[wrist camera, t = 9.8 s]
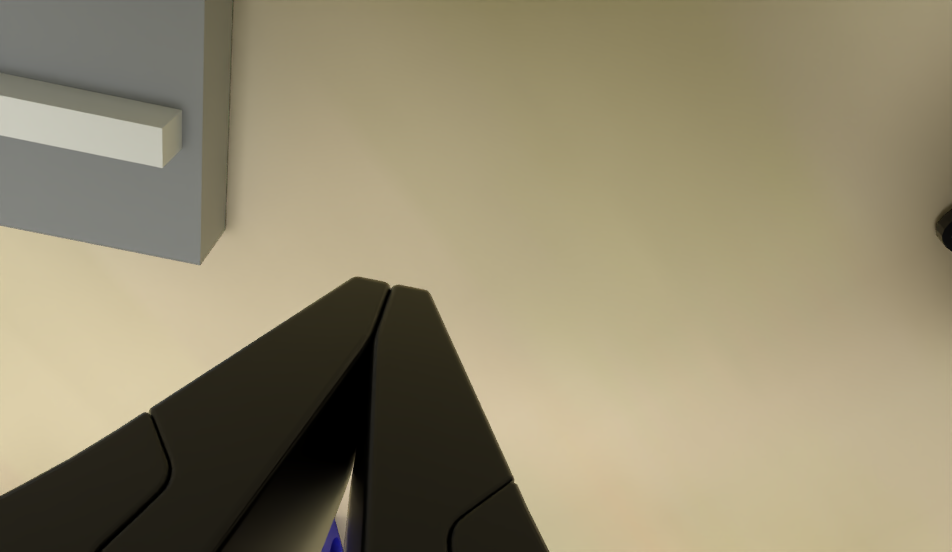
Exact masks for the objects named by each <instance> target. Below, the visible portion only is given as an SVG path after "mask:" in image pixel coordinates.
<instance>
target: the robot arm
mask: <svg viewBox="0 0 952 552" xmlns="http://www.w3.org/2000/svg"><path fill="white" fill-rule="evenodd" d="M936 234H937V236H938V238H939V239H940V240H941V241H942V243H943V244H944V245H945V246H946V247H947V248H948V249H949V250H950V251H952V209H951V210H950V211H949V212H948V213H947V214H945V215H944V216H943V217H942V218H941V220H940V221H939V222H938V224H937V227H936ZM353 464H354V467H353ZM352 468H353V473H352V480H351V487H350V495H349V504H348V513H347V523H346V532H345V542H344V551H343V552H549V550H548V548H547V546H546V544H545V542H544V540H543V538H542V536H541V534H540V532H539V530H538V528H537V526H536V524H535V522H534V520H533V518H532V516H531V514H530V512H529V510H528V508H527V506H526V503H525V501H524V499H523V497H522V494H521V492H520V490H519V488H518V486H517V484H515V483H514V477H513V475H512V473H511V471H510V469H509V466H508V464H507V462H506V460H505V458H504V455H503V453H502V451H501V449H500V447H499V444H498V442H497V440H496V438H495V435H494V433H493V431H492V429H491V427H490V424H489V422H488V420H487V418H486V416H485V413H484V411H483V409H482V407H481V405H480V402H479V400H478V398H477V396H476V394H475V391H474V389H473V387H472V385H471V383H470V380H469V378H468V376H467V374H466V372H465V369H464V367H463V365H462V363H461V360H460V358H459V356H458V354H457V352H456V349H455V347H454V345H453V343H452V341H451V338H450V336H449V334H448V332H447V330H446V327H445V325H444V323H443V321H442V319H441V316H440V314H439V312H438V310H437V308H436V305H435V303H434V301H433V299H432V297H431V295H430V293H429V292H428V291H427V290H424V289H418V288H413V287H408V286H403V285H395V286H393V287H392V288H390V285H389V284H388V283H386V282H383V281H378V280H373V279H368V278H363V277H353V278H351V279H350V280H348V281H346V282H345V283H343V284H342V285H340V286H339V287H337V288H336V289H334V290H333V291H331V292H329V293H328V294H326V295H325V296H323V297H322V298H320V299H319V300H317V301H316V302H314V303H312V304H311V305H309V306H308V307H306V308H305V309H303V310H302V311H300V312H299V313H297V314H295V315H294V316H292V317H291V318H289V319H288V320H286V321H285V322H283V323H282V324H280V325H278V326H277V327H275V328H274V329H272V330H271V331H269V332H268V333H266V334H265V335H263V336H261V337H260V338H258V339H257V340H255V341H254V342H252V343H251V344H249V345H248V346H246V347H244V348H243V349H241V350H240V351H238V352H237V353H235V354H234V355H232V356H231V357H229V358H228V359H226V360H224V361H223V362H221V363H220V364H218V365H217V366H215V367H214V368H212V369H211V370H209V371H207V372H206V373H204V374H203V375H201V376H200V377H198V378H197V379H195V380H194V381H192V382H190V383H189V384H187V385H186V386H184V387H183V388H181V389H180V390H178V391H177V392H175V393H173V394H172V395H170V396H169V397H167V398H166V399H164V400H163V401H161V402H160V403H158V404H156V405H155V406H153V407H152V408H151V409H150V410H149V413H146V412H145V413H142V414H140V415H139V416H137V417H136V418H134V419H133V420H131V421H130V422H128V423H127V424H125V425H123V426H122V427H120V428H119V429H117V430H116V431H114V432H112V433H111V434H109V435H108V436H106V437H104V438H103V439H101V440H99V441H98V442H96V443H94V444H93V445H91V446H89V447H88V448H86V449H85V450H83V451H81V452H80V453H78V454H76V455H75V456H73V457H71V458H70V459H68V460H66V461H64V462H62V463H61V464H59V465H57V466H55V467H53V468H51V469H50V470H48V471H46V472H44V473H42V474H40V475H38V476H37V477H35V478H33V479H31V480H29V481H27V482H26V483H24V484H22V485H20V486H18V487H16V488H15V489H13V490H11V491H9V492H7V493H5V494H3V495H1V496H0V552H321V551H322V548H323V546H324V543H325V541H326V538H327V535H328V533H329V530H330V528H331V525H332V523H333V520H334V518H335V515H336V513H337V510H338V508H339V505H340V502H341V500H342V497H343V495H344V492H345V489H346V486H347V484H348V481H349V478H350V475H351V471H352Z"/></svg>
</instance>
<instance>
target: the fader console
mask: <svg viewBox="0 0 952 552" xmlns="http://www.w3.org/2000/svg"><path fill="white" fill-rule="evenodd" d="M232 11H233V0H0V226H5V227H10V228H15V229H20V230H25V231H30V232H36V233H41V234H46V235H51V236H56V237H61V238H66V239H71V240H76V241H81V242H86V243H91V244H96V245H101V246H106V247H111V248H116V249H121V250H126V251H131V252H136V253H141V254H146V255H151V256H156V257H161V258H166V259H171V260H176V261H181V262H186V263H191V264H196V265H201V264H202V262H203V261H204V259H205V258H206V256H207V255H208V254H209V252H210V251H211V249H212V248H213V246H214V245H215V244H216V242H217V241H218V239H219V238H220V237H221V235H222V234H223V232H224V231H225V218H226V188H227V159H228V129H229V100H230V70H231V41H232Z"/></svg>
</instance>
